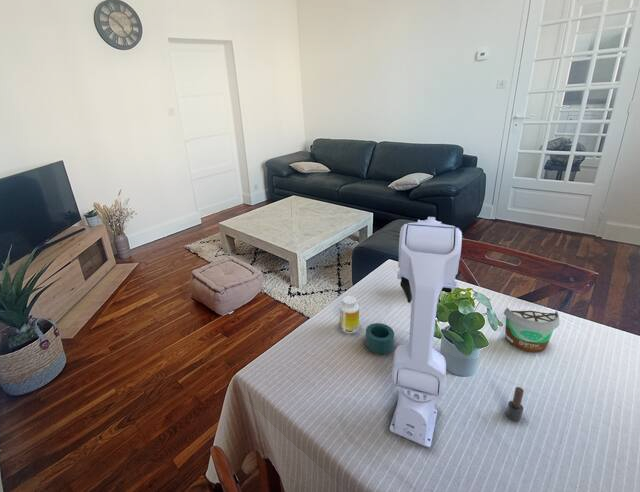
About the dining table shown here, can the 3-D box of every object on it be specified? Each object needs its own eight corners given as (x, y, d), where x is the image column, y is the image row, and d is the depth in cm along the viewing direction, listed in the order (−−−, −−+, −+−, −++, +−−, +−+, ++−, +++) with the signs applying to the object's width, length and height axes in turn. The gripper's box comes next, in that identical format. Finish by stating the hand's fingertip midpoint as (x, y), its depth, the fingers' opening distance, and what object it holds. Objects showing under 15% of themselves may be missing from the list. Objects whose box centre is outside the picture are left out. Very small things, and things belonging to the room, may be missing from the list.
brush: (521, 423, 70) (527, 396, 67) (506, 418, 71) (512, 391, 68) (520, 414, 72) (527, 387, 69) (506, 409, 73) (511, 382, 70)
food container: (507, 353, 88) (513, 321, 84) (498, 337, 93) (504, 306, 90) (562, 358, 85) (571, 325, 81) (550, 341, 90) (558, 310, 86)
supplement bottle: (362, 328, 101) (363, 299, 98) (350, 337, 98) (350, 307, 94) (348, 320, 105) (348, 292, 102) (336, 328, 102) (335, 299, 99)
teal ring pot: (389, 357, 89) (390, 344, 88) (362, 349, 93) (362, 335, 92) (396, 340, 95) (396, 327, 94) (370, 333, 99) (370, 320, 97)
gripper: (461, 261, 85) (456, 303, 91) (403, 250, 93) (401, 289, 99) (457, 276, 80) (451, 319, 86) (395, 263, 88) (394, 303, 94)
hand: (424, 304), depth 92 cm, fingers open, 7 cm apart
